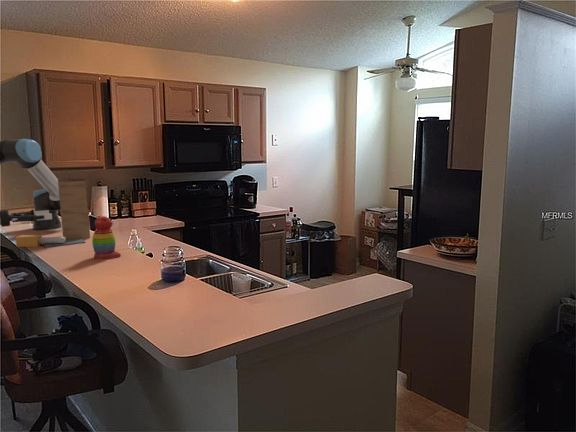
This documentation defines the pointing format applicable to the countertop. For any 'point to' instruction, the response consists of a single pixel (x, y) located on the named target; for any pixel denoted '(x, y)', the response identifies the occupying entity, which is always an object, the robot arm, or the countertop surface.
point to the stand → (74, 208)
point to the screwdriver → (37, 240)
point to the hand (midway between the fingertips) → (50, 214)
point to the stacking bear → (104, 239)
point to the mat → (66, 243)
